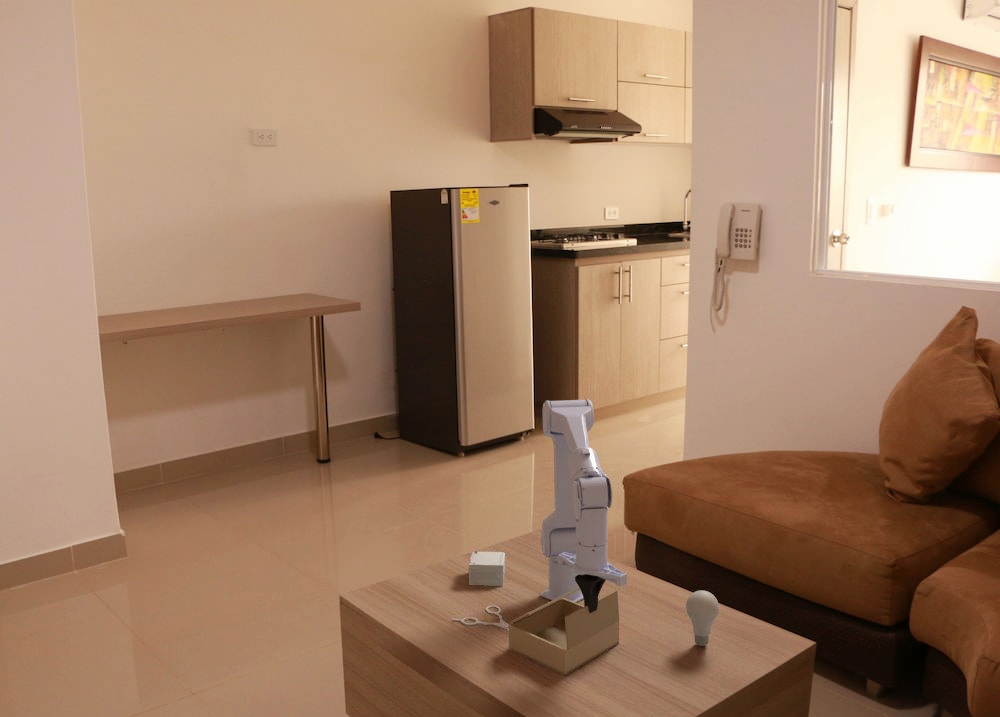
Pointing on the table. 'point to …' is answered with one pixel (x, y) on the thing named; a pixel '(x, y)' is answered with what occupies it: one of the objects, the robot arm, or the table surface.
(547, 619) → the carton
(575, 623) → the flap
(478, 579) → the small box
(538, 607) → the flap
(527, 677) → the table surface
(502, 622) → the scissors
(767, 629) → the table surface
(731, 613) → the table surface
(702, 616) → the lightbulb
